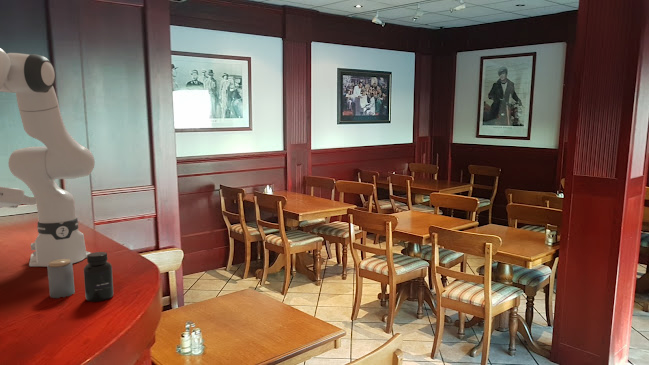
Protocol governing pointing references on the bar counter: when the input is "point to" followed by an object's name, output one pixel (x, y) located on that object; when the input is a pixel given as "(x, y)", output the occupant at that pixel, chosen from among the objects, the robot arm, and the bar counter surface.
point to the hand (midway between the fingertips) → (25, 203)
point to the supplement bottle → (98, 277)
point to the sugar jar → (60, 278)
